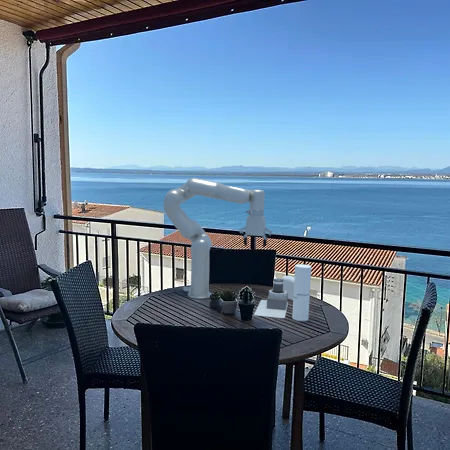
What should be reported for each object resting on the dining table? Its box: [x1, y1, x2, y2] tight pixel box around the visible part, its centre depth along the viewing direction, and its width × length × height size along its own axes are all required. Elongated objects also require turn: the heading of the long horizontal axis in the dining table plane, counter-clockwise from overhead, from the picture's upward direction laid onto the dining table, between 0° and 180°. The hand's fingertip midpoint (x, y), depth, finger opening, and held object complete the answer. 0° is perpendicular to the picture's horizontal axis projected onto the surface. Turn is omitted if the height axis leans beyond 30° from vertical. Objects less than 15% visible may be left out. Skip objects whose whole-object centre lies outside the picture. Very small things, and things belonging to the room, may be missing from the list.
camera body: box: [266, 288, 289, 311], centre depth 210 cm, size 9×14×7 cm, turn 168°
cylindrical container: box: [291, 263, 312, 322], centre depth 190 cm, size 7×7×25 cm
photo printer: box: [281, 275, 295, 301], centre depth 225 cm, size 10×4×12 cm, turn 39°
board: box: [253, 299, 289, 319], centre depth 205 cm, size 14×26×1 cm, turn 168°
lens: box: [272, 278, 284, 293], centre depth 210 cm, size 5×5×8 cm
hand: (254, 246), depth 220 cm, fingers open, 9 cm apart
